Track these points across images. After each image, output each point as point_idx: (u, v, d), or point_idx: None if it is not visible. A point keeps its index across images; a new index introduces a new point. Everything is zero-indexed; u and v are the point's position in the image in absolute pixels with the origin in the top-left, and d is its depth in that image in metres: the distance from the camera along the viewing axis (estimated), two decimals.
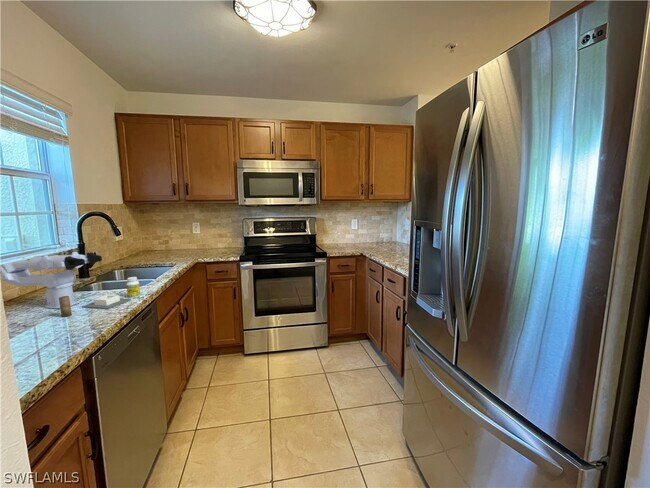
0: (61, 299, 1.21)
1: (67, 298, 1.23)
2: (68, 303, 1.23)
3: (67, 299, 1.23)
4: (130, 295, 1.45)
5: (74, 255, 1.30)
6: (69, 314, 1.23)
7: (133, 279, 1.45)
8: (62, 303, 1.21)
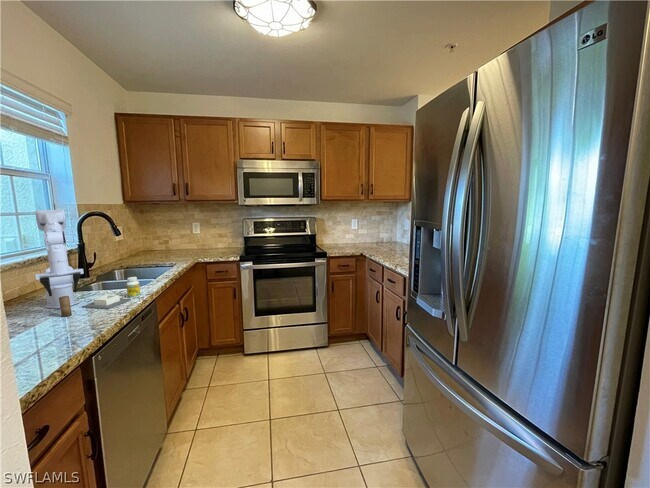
0: (61, 299, 1.21)
1: (67, 298, 1.23)
2: (68, 303, 1.23)
3: (67, 299, 1.23)
4: (130, 295, 1.45)
5: (57, 275, 1.19)
6: (69, 314, 1.23)
7: (133, 279, 1.45)
8: (62, 303, 1.21)
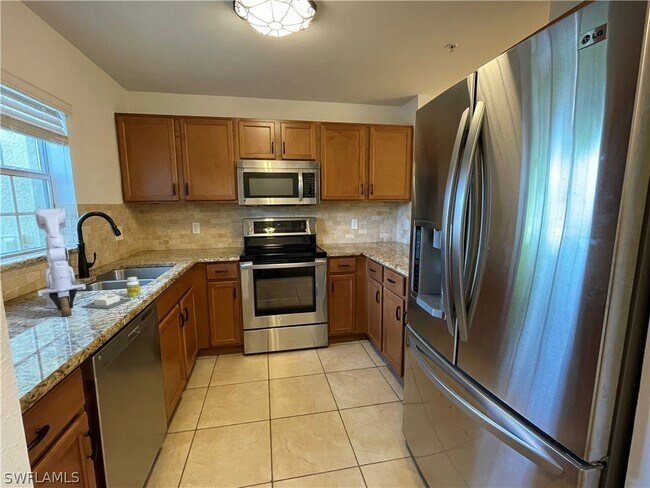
0: (61, 299, 1.21)
1: (67, 298, 1.23)
2: (68, 303, 1.23)
3: (67, 299, 1.23)
4: (130, 295, 1.45)
5: (60, 290, 1.20)
6: (69, 314, 1.23)
7: (133, 279, 1.45)
8: (62, 303, 1.21)
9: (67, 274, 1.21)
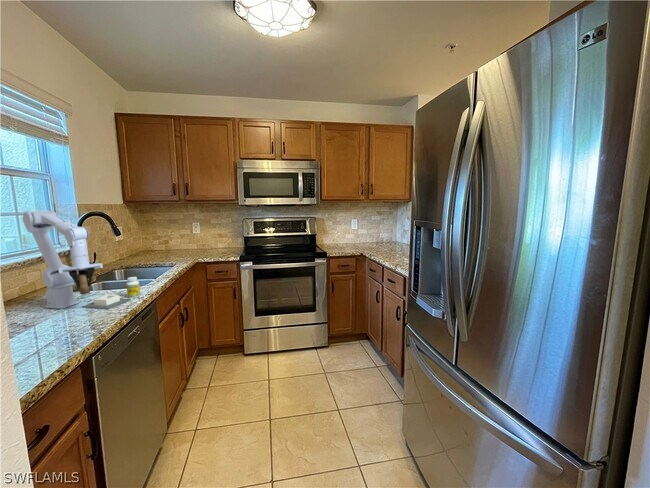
0: (80, 277, 1.27)
1: (85, 276, 1.28)
2: (86, 281, 1.28)
3: (85, 277, 1.28)
4: (130, 295, 1.45)
5: (79, 268, 1.25)
6: (87, 291, 1.29)
7: (133, 279, 1.45)
8: (81, 281, 1.27)
9: (87, 252, 1.28)
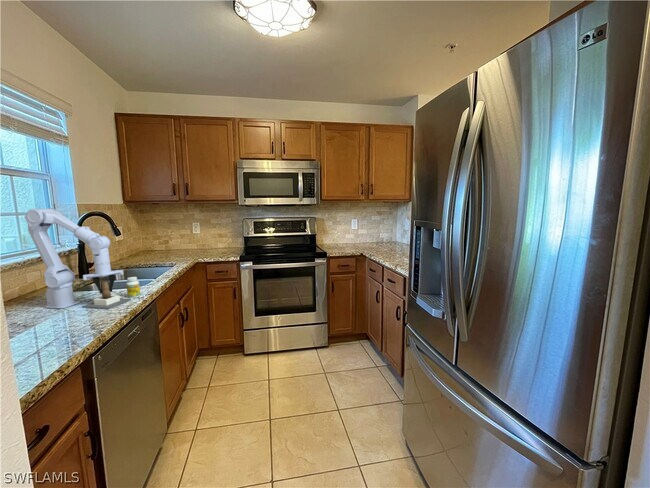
0: (102, 283, 1.35)
1: (107, 282, 1.36)
2: (108, 287, 1.36)
3: (107, 283, 1.36)
4: (130, 295, 1.45)
5: (102, 275, 1.33)
6: (109, 297, 1.37)
7: (133, 279, 1.45)
8: (103, 287, 1.35)
9: None
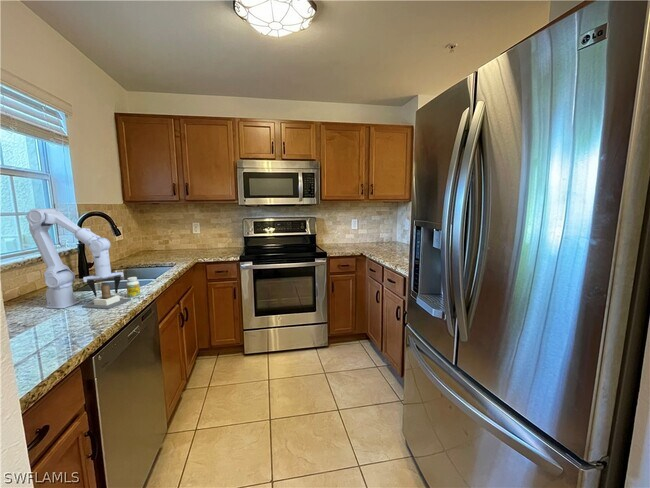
0: (103, 287, 1.35)
1: (108, 286, 1.36)
2: (109, 291, 1.37)
3: (108, 287, 1.36)
4: (130, 295, 1.45)
5: (102, 277, 1.33)
6: None
7: (133, 279, 1.45)
8: (104, 291, 1.35)
9: None
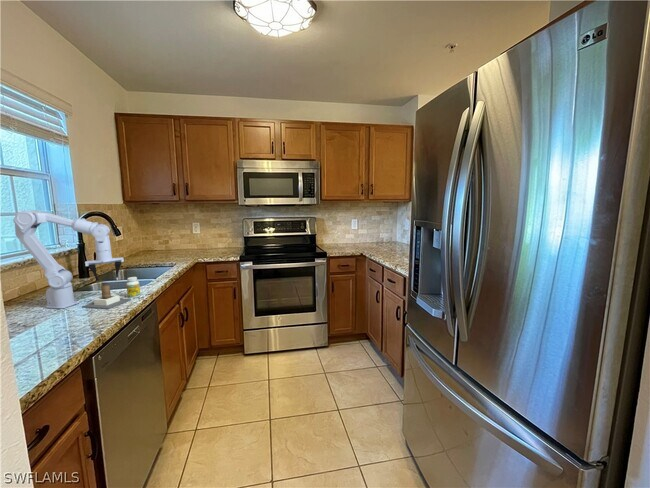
0: (103, 287, 1.35)
1: (108, 286, 1.36)
2: (109, 291, 1.37)
3: (108, 287, 1.36)
4: (130, 295, 1.45)
5: (103, 262, 1.38)
6: None
7: (133, 279, 1.45)
8: (104, 291, 1.35)
9: None
